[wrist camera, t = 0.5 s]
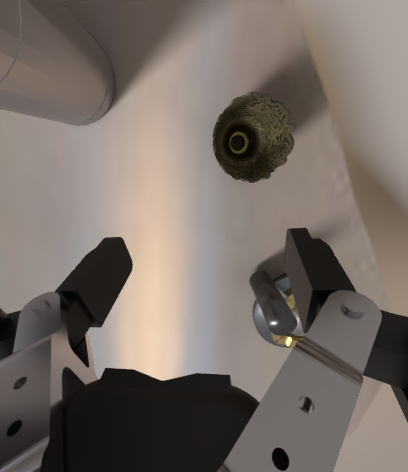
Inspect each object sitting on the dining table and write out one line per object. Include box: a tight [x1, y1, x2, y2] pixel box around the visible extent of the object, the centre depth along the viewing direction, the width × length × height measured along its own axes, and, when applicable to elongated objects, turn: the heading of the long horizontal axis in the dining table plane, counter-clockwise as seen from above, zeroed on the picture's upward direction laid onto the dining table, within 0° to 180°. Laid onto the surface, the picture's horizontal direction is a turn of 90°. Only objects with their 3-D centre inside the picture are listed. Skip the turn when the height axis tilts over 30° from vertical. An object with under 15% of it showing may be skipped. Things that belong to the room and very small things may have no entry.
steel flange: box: [253, 274, 307, 348], centre depth 35 cm, size 15×15×3 cm
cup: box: [213, 92, 295, 183], centre depth 23 cm, size 8×7×8 cm
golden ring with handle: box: [249, 271, 305, 348], centre depth 31 cm, size 17×12×9 cm
